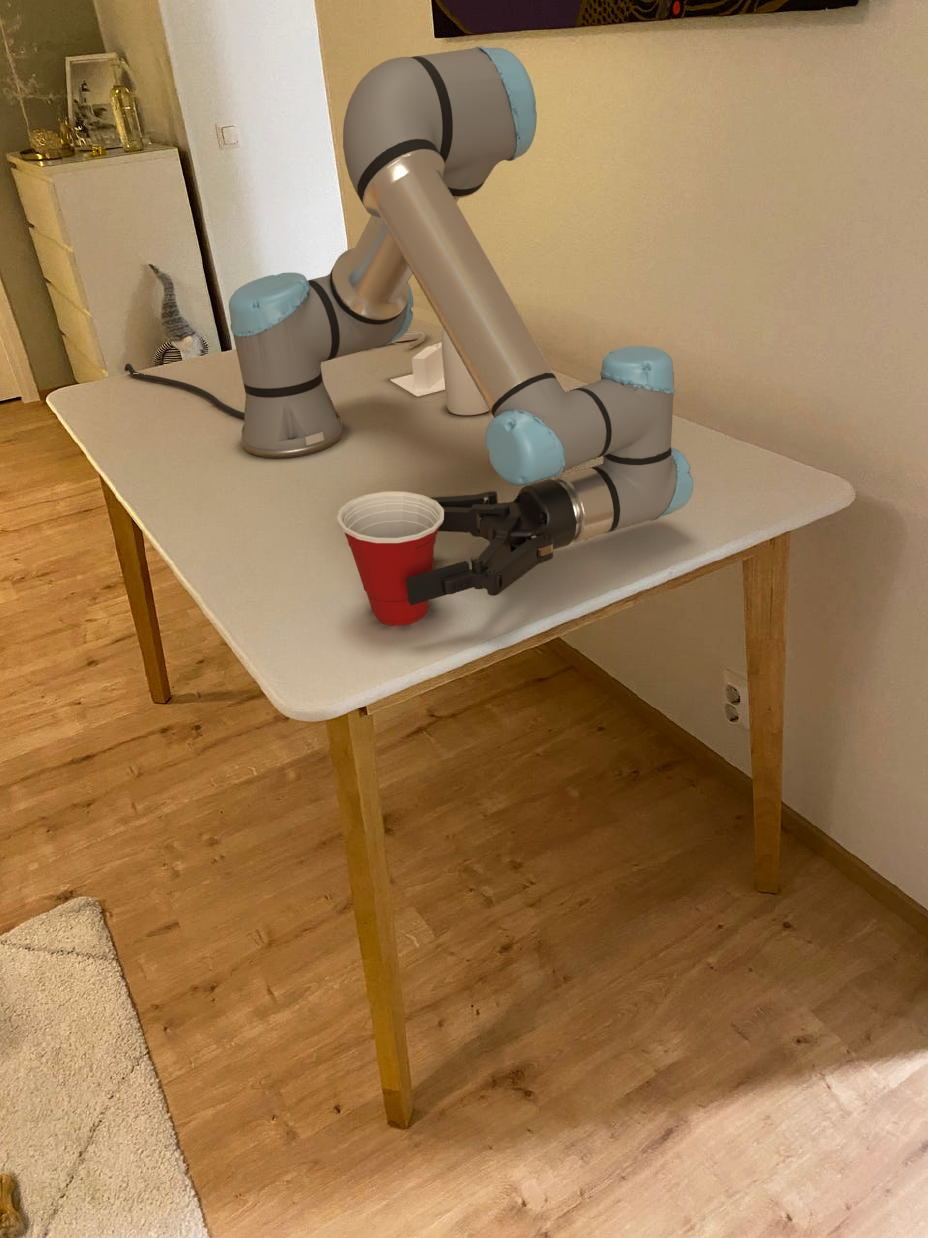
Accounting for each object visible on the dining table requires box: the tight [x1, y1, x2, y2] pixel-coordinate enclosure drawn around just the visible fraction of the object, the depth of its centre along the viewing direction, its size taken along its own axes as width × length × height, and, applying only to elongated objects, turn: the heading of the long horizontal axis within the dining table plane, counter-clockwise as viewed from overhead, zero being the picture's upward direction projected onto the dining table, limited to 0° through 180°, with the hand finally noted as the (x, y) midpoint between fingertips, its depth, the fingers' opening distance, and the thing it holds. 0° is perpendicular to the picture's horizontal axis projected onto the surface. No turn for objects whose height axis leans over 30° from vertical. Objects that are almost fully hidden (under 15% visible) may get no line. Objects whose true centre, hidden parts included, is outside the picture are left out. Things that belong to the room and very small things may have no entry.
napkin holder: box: [390, 341, 445, 398], centre depth 167 cm, size 15×11×6 cm
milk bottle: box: [440, 326, 490, 416], centre depth 150 cm, size 8×8×20 cm
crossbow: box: [392, 329, 426, 350], centre depth 188 cm, size 16×13×2 cm
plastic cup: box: [336, 490, 444, 627], centre depth 101 cm, size 11×11×12 cm
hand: (382, 563), depth 100 cm, fingers open, 13 cm apart
